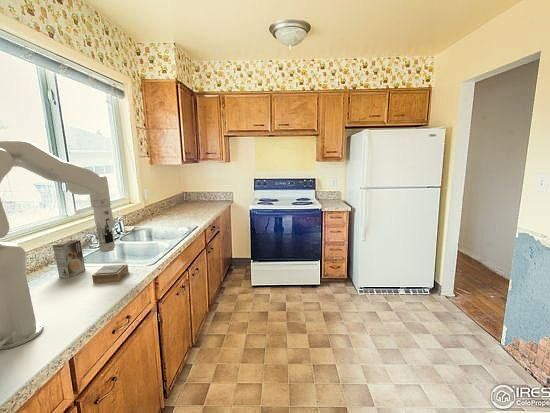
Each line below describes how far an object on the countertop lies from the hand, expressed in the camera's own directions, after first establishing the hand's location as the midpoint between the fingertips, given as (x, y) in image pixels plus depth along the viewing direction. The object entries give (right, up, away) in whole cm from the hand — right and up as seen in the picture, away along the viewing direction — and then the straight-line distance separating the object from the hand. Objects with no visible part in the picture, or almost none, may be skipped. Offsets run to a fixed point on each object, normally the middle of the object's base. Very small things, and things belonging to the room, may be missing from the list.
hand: (106, 240), depth 128 cm
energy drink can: (0, -5, +1) cm, 5 cm away
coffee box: (-22, -18, +9) cm, 30 cm away
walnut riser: (0, -18, +3) cm, 18 cm away
